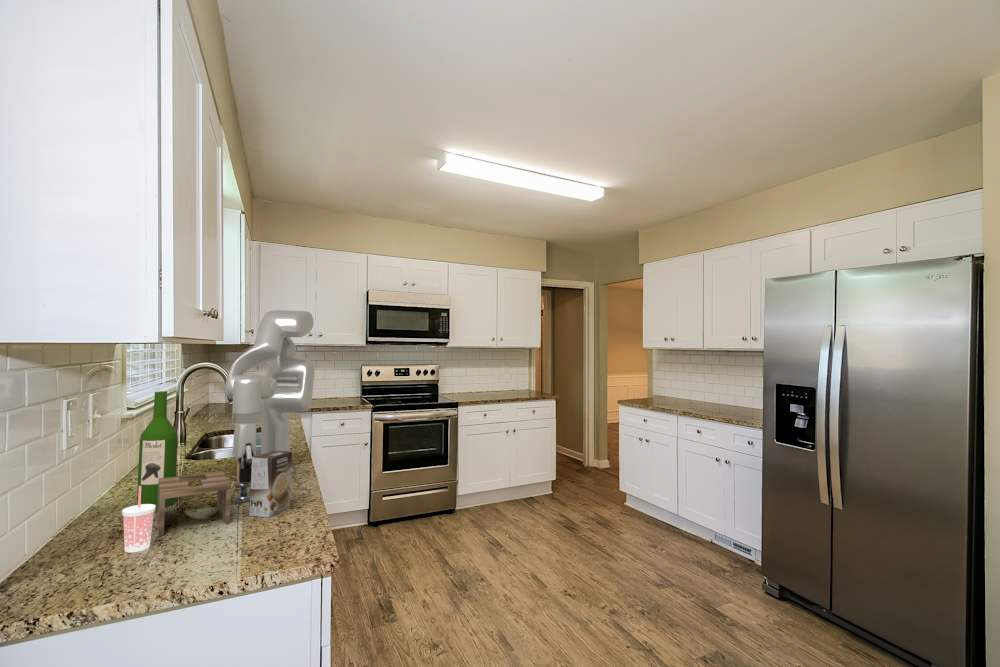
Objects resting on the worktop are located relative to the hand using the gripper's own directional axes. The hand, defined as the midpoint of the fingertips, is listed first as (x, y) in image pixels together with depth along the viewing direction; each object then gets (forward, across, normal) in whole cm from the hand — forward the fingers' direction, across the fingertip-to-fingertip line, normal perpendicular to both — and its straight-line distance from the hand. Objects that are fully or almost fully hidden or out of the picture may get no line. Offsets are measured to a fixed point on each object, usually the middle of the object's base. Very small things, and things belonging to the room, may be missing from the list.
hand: (244, 478), depth 142 cm
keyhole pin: (+6, 0, 0) cm, 6 cm away
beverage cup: (+7, +24, -25) cm, 35 cm away
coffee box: (+7, +15, +4) cm, 17 cm away
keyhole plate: (+6, +10, -14) cm, 18 cm away
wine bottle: (+7, -9, -21) cm, 24 cm away
